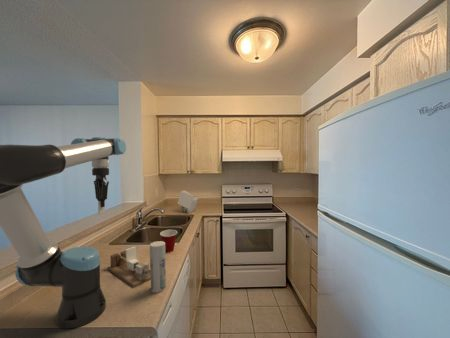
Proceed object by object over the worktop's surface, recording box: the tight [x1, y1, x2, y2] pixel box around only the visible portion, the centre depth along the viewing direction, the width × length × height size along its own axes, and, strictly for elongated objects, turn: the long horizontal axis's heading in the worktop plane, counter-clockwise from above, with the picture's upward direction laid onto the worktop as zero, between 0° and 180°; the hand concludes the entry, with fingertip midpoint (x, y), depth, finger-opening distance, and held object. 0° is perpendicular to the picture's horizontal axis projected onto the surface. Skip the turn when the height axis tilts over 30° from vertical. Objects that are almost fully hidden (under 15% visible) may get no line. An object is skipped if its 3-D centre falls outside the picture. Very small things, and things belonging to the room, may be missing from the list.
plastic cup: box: [159, 229, 178, 253], centre depth 134 cm, size 11×11×12 cm
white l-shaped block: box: [125, 245, 140, 271], centre depth 105 cm, size 5×5×10 cm
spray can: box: [149, 240, 167, 294], centre depth 92 cm, size 6×6×20 cm
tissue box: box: [177, 189, 199, 214], centre depth 247 cm, size 20×16×25 cm
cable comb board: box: [107, 250, 151, 288], centre depth 106 cm, size 12×28×7 cm, turn 52°
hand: (101, 213), depth 109 cm, fingers closed
